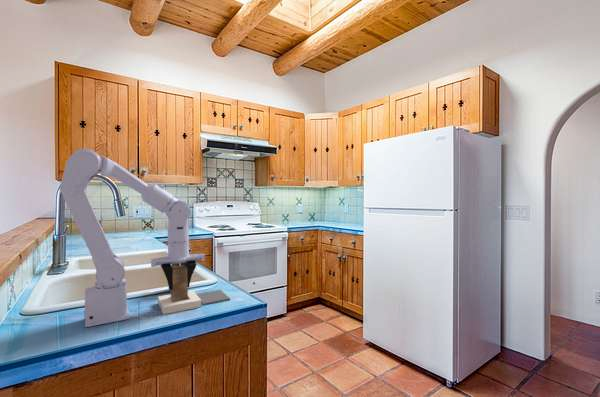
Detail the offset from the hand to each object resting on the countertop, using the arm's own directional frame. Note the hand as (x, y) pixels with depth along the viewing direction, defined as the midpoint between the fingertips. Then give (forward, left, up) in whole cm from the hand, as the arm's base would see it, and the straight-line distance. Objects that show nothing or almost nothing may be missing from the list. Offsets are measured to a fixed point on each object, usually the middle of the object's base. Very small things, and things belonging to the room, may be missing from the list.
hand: (179, 287), depth 90 cm
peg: (0, 0, -3) cm, 3 cm away
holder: (0, 0, -5) cm, 5 cm away
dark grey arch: (+3, +15, -5) cm, 16 cm away
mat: (+10, +1, -5) cm, 11 cm away
